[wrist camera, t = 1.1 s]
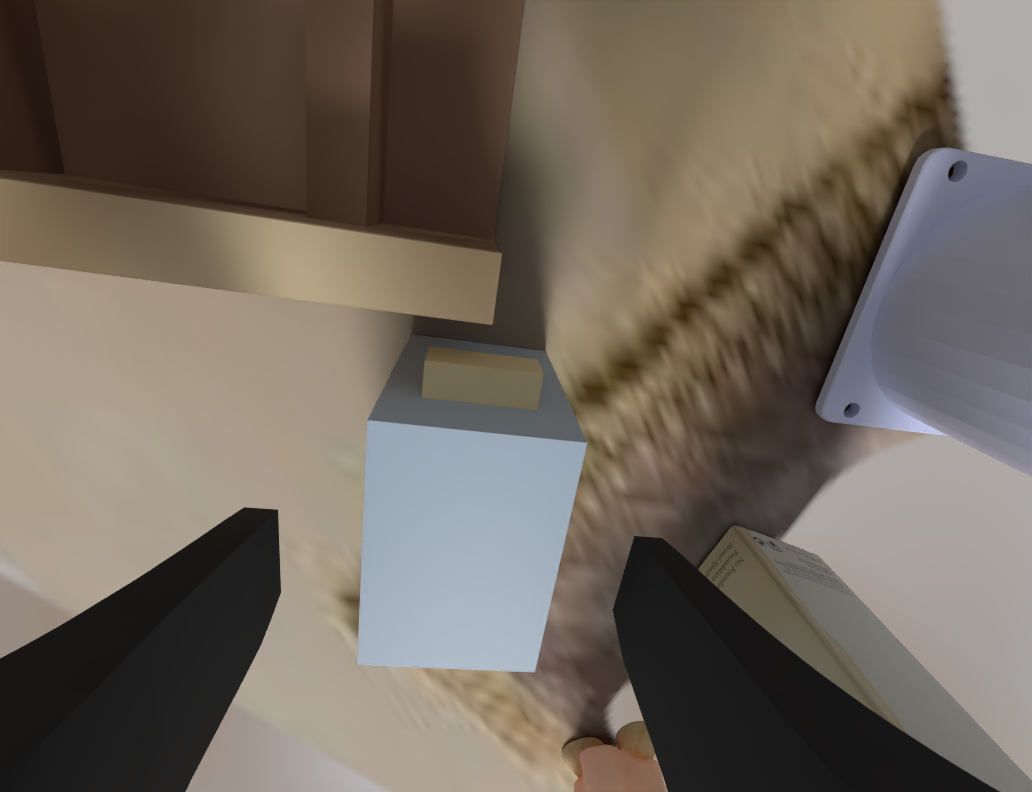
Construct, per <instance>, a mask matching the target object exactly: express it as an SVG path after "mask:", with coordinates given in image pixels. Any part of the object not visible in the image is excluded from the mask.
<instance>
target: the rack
mask: <svg viewBox="0 0 1032 792" xmlns="http://www.w3.org/2000/svg"><path fill="white" fill-rule="evenodd" d="M524 2H525V0H0V261H6V262H13V263H21V264H29V265H36V266H44V267H52V268H59V269H67V270H75V271H82V272H90V273H98V274H105V275H113V276H121V277H128V278H136V279H144V280H151V281H159V282H167V283H174V284H182V285H190V286H197V287H205V288H213V289H220V290H228V291H236V292H243V293H251V294H259V295H266V296H274V297H282V298H289V299H297V300H305V301H312V302H320V303H328V304H335V305H343V306H351V307H358V308H366V309H374V310H381V311H389V312H397V313H404V314H412V315H420V316H427V317H435V318H443V319H450V320H458V321H466V322H473V323H481V324H489V325H493V318H494V311H495V303H496V296H497V289H498V281H499V274H500V266H501V259H502V252H499V249H498V247H497V245H496V243H495V241H494V237H495V229H496V221H497V213H498V205H499V198H500V190H501V182H502V174H503V166H504V159H505V151H506V143H507V135H508V127H509V119H510V112H511V104H512V96H513V88H514V80H515V73H516V65H517V57H518V49H519V41H520V34H521V26H522V18H523V10H524Z"/></svg>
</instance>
